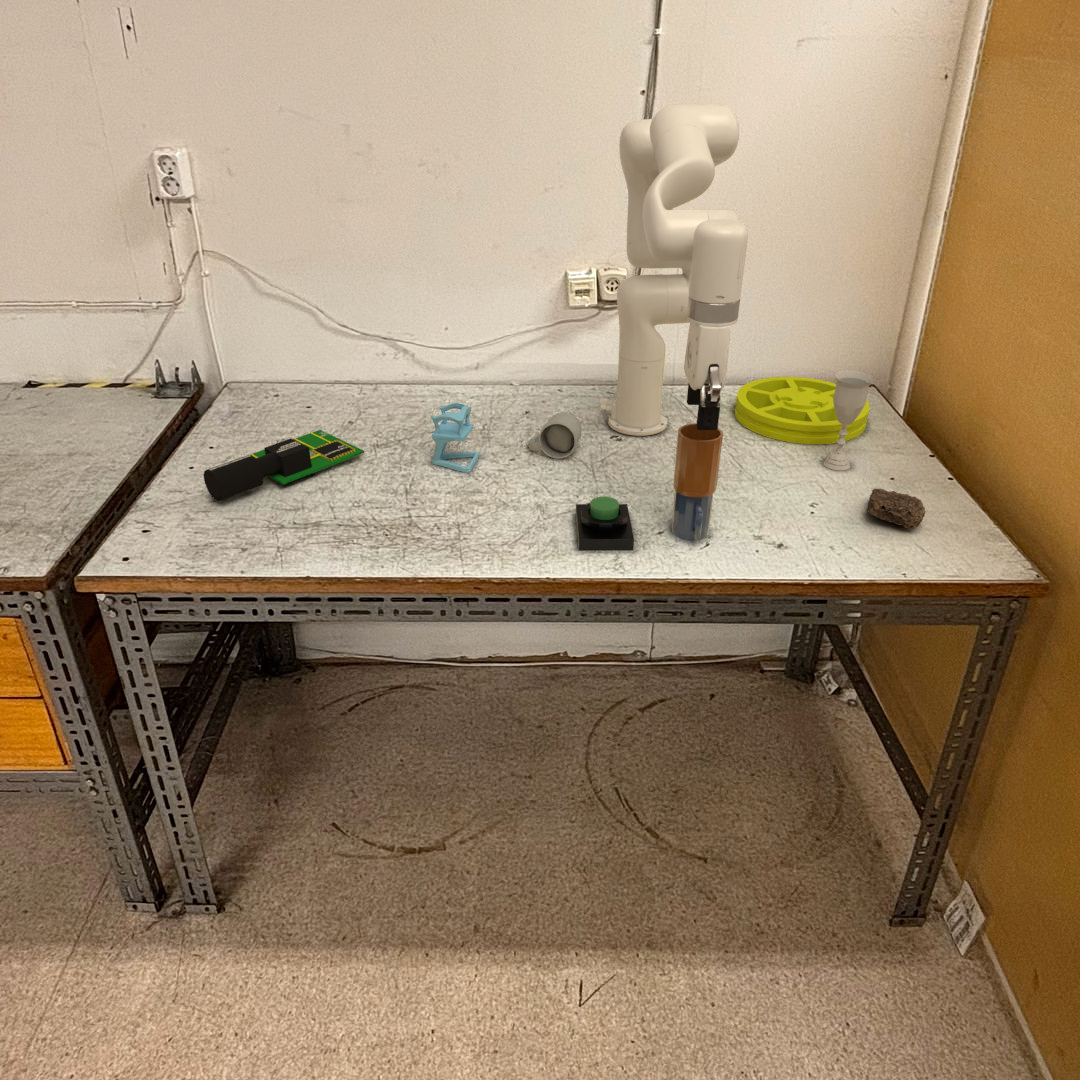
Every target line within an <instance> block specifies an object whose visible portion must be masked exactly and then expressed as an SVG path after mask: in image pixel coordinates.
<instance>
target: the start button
mask: <svg viewBox="0 0 1080 1080" xmlns="http://www.w3.org/2000/svg"><path fill="white" fill-rule="evenodd" d="M589 503H590V515H591V516H592V517H593V518H596V519H599V520H611V519H614V518H617V517H618V515H619V504H620V502H619V500H618V499H616V498H614V497H611V496H598V497H597V496H596V497H594V498H593V499H592V500H591V501H590V502H589Z"/></svg>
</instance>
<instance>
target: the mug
mask: <svg viewBox="0 0 1080 1080" xmlns="http://www.w3.org/2000/svg"><path fill="white" fill-rule="evenodd" d="M713 499H714V494H712V495H710V496H707V497H700V498H695V497H688V496H684V495H682V494H680V493H678V492H677V491H675V490H674V495H673V507H672V517H671V518H672V519H671V533H672V535H673V536H674V537H676V538H678V539H680V540H683V541H688V542H689V541H690V542H697V541H701V540H704V539H706V538H707V537H708V536H709V532H710V531H709V530H710V524H711V516H712V510H713V509H712V507H713V501H714V500H713Z"/></svg>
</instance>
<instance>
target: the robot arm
mask: <svg viewBox="0 0 1080 1080" xmlns="http://www.w3.org/2000/svg"><path fill="white" fill-rule="evenodd" d="M739 140H740V124H739V120H738V116H737V114H736V112H735V110H734V109H733V108H732V107H731V106H729V105H727V104H724V103H675V104H674V103H673V104H670V105H667V106H665V107H662V108H661V109H660V110H658V111H657V112H656V113H655V114H654V116H653V118H644V119H637V120H633V121H631V122H629V123H627V124H626V125H624V127H623V128H622V130H621V132H620V136H619V142H618V143H619V146H618V147H619V158H620V159H619V161H620V165H621V169H622V173H623V176H624V179H625V182H626V188H627V219H626V256H627V261H628V263H629V264H630V265H631V266H633V267H635V268H639V269H681V271H682V272H681V273H678V274H677V273H676V274H675V273H674V274H662V273H660V274H638V275H633V276H630V277H627V278H625V279H624V280H623V281H622V282H620V283H619V285H618V288H617V293H616V304H617V305H616V306H617V314H618V327H619V329H618V330H619V331H618V333H619V337H618V338H619V341H618V364H617V384H616V386H617V387H616V399H613V400H611V399H609V398H603V397H601V398H600V400H599V407H600V409H599V410H600V411H601V412H607V413H609V414H610V415H609V416H608V422H607V423H608V426H609V427H610V428H611V429H612V430H614V431H615V432H618V433H619V434H623V435H627V436H635V437H636V436H637V437H638V436H639V437H644V436H652V435H656V434H659V433H663V432H664V431H665V430H666V429H667V427H668V419H667V417H666V415H663V414H662V413H661V412H662V401H663V400H662V399H663V387H664V373H665V361H666V350H667V349H666V343H665V341H664V338H663V336H662V335H661V334H660V332H659V331H658V330H656V328H655V327H656V326H658V325H672V324H673V325H675V324H689V327H688V333H687V340H686V347H685V355H684V356H685V357H684V363H683V371H684V375H685V377H686V379H687V382H688V383H687V394H686V404H687V405H688V406H698V407H697V416H696V423H697V425H696V428H697V430H717V429H718V428H719V422H720V421H719V420H720V411H721V398H722V396H721V391H722V390H723V388H725V385H726V384H725V383H726V378H727V372H728V363H729V351H730V341H731V326H732V325H735V324H737V323H738V321H739V313H740V304H741V297H742V295H741V294H742V288H743V286H742V285H743V280H744V274H745V273H744V271H745V265H746V254H747V247H748V239H749V231H748V229H747V226H746V225H745V224H744V222H743V221H742V220H741V217H740V216H739V214H738V213H737V212H736V211H734V210H731V209H726V208H725V209H724V208H714V209H713V208H712V209H711V208H710V209H709V208H707V209H703V208H698V209H697V208H695V209H675V208H677V207H680V206H682V205H684V204H687V203H689V202H691V201H693V200H695V199H697V198H698V197H701V196H702V195H703V194H705V192H706V191H708V189H709V188H710V187H711V185H712V184H713V181H714V178H715V175H716V167H717V166H719V165H721V164H723V163H725V162H726V161H728V160H729V159H730V158H731V157H732V156H733V155H734V154H735V152H736V150H737V147H738V145H739Z"/></svg>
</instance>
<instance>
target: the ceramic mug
mask: <svg viewBox="0 0 1080 1080" xmlns="http://www.w3.org/2000/svg"><path fill="white" fill-rule="evenodd" d="M582 429H583V428H582V424H581V422H580V420H579V418H578V417H577V416H576V415H575V414H573V413H570V412H569V411H568V412H567V411H560V412H558V413H557V412H556V413H555V414H554V415H552V416H551V417H550V418H549V419H548V420H547V422H546V423H545V424H544V425H543V426H542V428H541V430H540V432H539V434H536V435H534V436H533V437H531V438H530V439H529V440H528V441H527V447H528V448H529V450H530V451H537V450H541V451H542V452H543V453H544V454H545V455H546V456H548V457H549V458H553V459H556V460H558V459H559V460H560V459H561V460H563V459H565V458H568V457H569V456H571V455H572V454H573V453H574V451H575V450H576V448H577V445H578V443H579V440H580V439H581V436H582Z"/></svg>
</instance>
